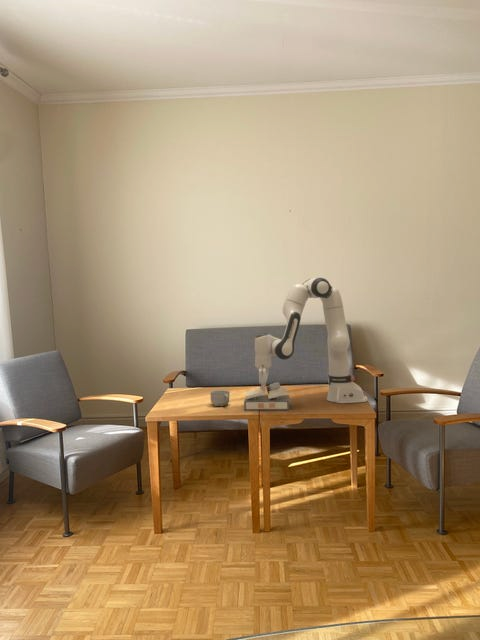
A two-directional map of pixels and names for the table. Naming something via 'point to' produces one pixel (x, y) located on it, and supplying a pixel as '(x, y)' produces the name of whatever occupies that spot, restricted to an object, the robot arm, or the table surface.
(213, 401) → the teacup
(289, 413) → the table surface
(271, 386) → the electrical switch
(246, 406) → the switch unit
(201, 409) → the table surface
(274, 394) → the rocker
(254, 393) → the block
